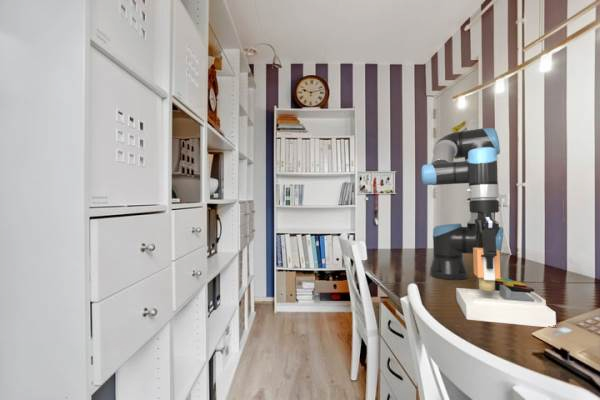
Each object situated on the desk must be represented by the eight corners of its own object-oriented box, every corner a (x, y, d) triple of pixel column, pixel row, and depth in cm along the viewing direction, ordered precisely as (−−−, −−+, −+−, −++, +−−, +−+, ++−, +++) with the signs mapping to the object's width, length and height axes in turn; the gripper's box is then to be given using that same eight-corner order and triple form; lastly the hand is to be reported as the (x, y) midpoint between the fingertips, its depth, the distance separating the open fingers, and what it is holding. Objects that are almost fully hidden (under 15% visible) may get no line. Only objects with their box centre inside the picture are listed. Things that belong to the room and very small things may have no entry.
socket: (456, 300, 98) (455, 283, 99) (528, 305, 92) (527, 287, 92) (466, 319, 81) (466, 298, 82) (556, 328, 75) (555, 305, 75)
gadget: (535, 303, 97) (537, 286, 97) (489, 294, 102) (492, 278, 102) (527, 297, 103) (529, 282, 103) (484, 289, 108) (486, 274, 108)
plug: (474, 286, 91) (473, 247, 92) (495, 288, 89) (493, 248, 90) (478, 291, 86) (477, 249, 86) (500, 292, 84) (499, 250, 84)
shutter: (499, 295, 89) (499, 284, 89) (525, 296, 87) (525, 286, 87) (506, 301, 83) (506, 290, 83) (534, 303, 81) (533, 291, 81)
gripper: (463, 200, 99) (466, 270, 98) (476, 198, 81) (479, 283, 80) (489, 200, 96) (492, 271, 95) (508, 198, 79) (511, 286, 78)
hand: (486, 277), depth 88 cm, fingers closed on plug, 6 cm apart
